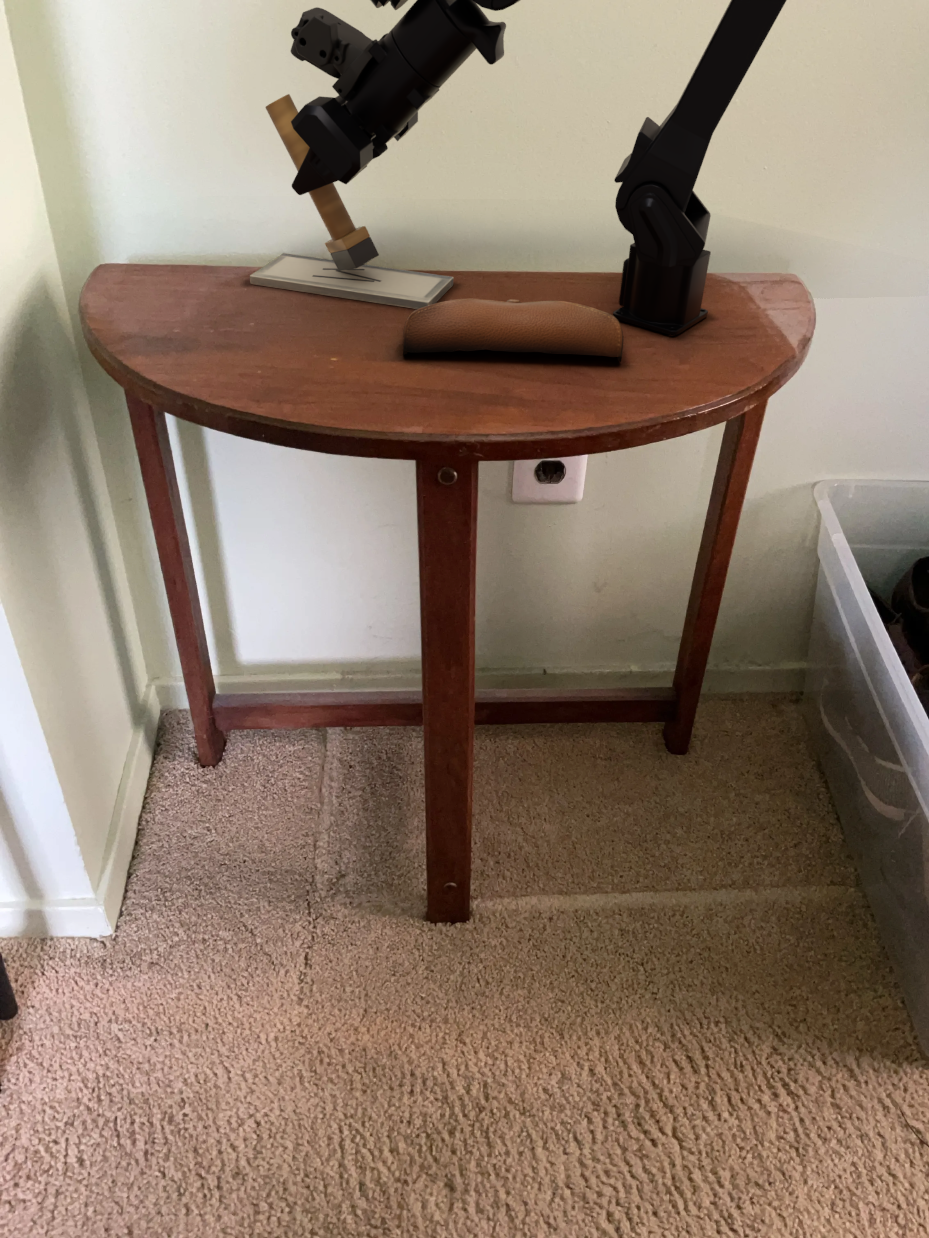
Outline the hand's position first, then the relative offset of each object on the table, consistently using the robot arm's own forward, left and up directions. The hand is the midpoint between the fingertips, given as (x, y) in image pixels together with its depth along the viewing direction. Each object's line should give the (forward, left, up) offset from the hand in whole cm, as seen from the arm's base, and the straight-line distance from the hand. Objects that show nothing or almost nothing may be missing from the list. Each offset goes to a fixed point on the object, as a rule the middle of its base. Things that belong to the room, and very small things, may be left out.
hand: (301, 186), depth 90 cm
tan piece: (-5, -2, -6) cm, 8 cm away
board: (-4, -2, -8) cm, 10 cm away
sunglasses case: (-24, 0, -9) cm, 26 cm away
